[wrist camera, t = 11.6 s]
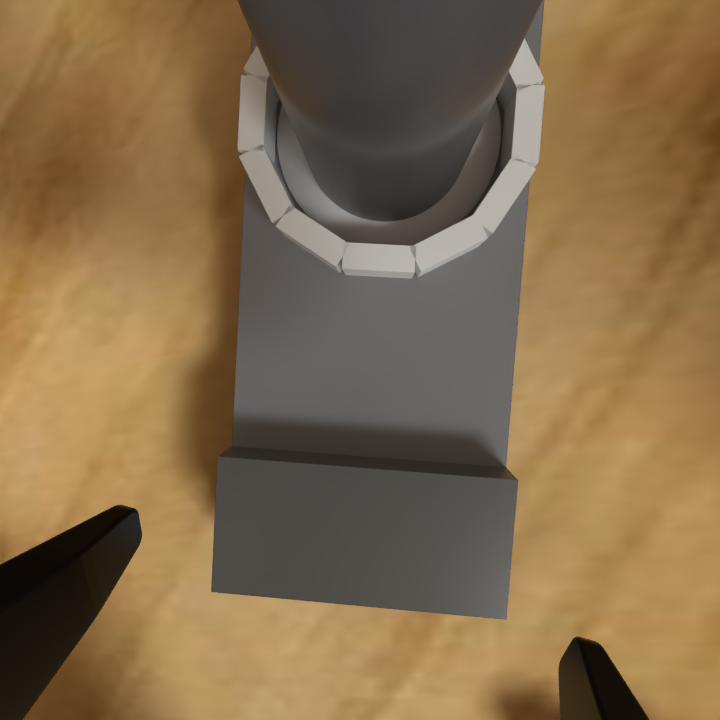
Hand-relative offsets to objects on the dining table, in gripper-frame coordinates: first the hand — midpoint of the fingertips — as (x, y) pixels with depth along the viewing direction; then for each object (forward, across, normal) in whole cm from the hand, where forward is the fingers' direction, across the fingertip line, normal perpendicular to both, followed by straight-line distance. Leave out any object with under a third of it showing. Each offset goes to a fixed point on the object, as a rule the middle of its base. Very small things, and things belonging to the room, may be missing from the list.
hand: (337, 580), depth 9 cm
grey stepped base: (+12, +2, -1) cm, 12 cm away
